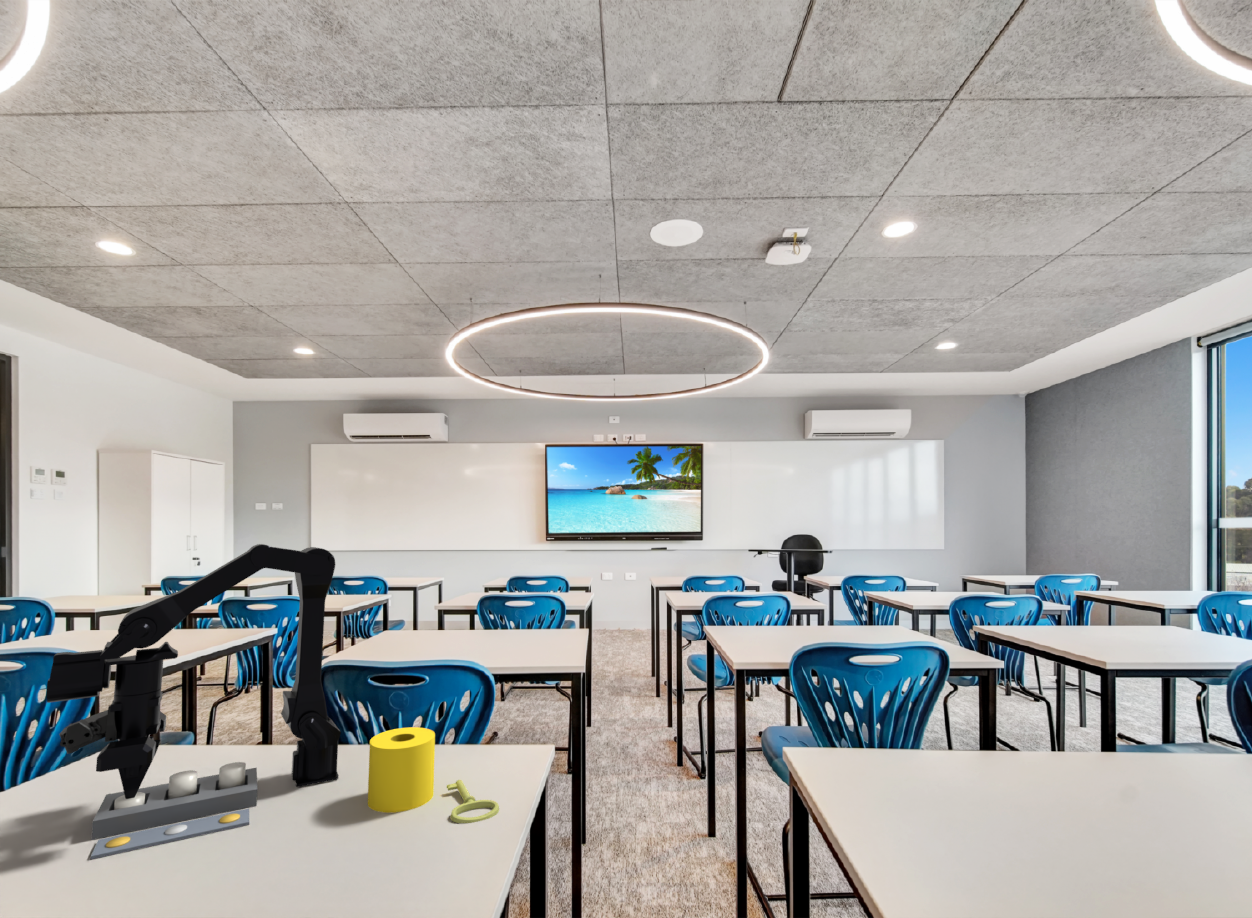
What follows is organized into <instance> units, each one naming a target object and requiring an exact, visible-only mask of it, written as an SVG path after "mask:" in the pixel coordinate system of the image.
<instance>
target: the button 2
mask: <svg viewBox="0 0 1252 918" xmlns="http://www.w3.org/2000/svg"><path fill="white" fill-rule="evenodd" d="M246 766H247V763H246V762H243V761H241V762H240V761H237V762H230V763H227V764H224V765H222V766H220V767H219V769H218V770H219V772H218V774H219V786H218V789H219V790H222V789H227V788H232V787H237V786H243V785H244V784H245V770H246V768H247V767H246Z"/></svg>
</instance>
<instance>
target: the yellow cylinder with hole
mask: <svg viewBox="0 0 1252 918" xmlns="http://www.w3.org/2000/svg"><path fill="white" fill-rule="evenodd" d="M435 748H436V733H435V731H434V730H432V729H429V728H425V727H417V726H416V727H414V726H413V727H411V726H410V727H409V726H408V727H399V728H394V729H389V730H386V731H383V732H380V733H378V734H375V735H374V736H373V737H371V739H370V740H369V755H368V756H369V757H368V778H367V779H368V782H367V787H368V788H367V807H369V809H371V810H372V811H375V812H378V813H388V814H392V813H395V814H396V813H401V812H409V811H411V810H415V809H417V808H420V807H423V806H425V805H426V804H427V803H429V802H430V801H431V800H432V799H433V797H434V792H435V791H434V790H435V789H434V785H435V784H434V783H435V752H436V749H435Z"/></svg>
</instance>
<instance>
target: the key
mask: <svg viewBox="0 0 1252 918" xmlns="http://www.w3.org/2000/svg"><path fill="white" fill-rule="evenodd" d="M446 789H447V791H452V790H453V791H454V790H457V791H458V793H459V795H460V796H461V798H462V800H463V803H461V804H459V805H457V806H455V807H454V808H453V809H452V810H451V812H450V813H451V814H450V819H451V820H450V821H452V822H453V823H457V824H472V823H478V822H482V821H485V820H489V819H490V818H493V817H495V816H496V815H497V814H499V811H500V805H499V803H498V802H497V801H495V800H492V799H478V800H476V798H475V796H474V795H471V794H470V793H469V791H468V789H467V787H466V785H465V783H464V782H463V780H462V779H458V780H456V781H455V783H449V784H446ZM485 808H487V809H488V808H489V809H490V808H491V810H490V811H489V812H487V813H484V814H481V815H477V816H469V817H468V816H460V814H463V813H465V812H468V811H472V810H473V811H474V810H476V809H485Z"/></svg>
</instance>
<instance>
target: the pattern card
mask: <svg viewBox="0 0 1252 918" xmlns="http://www.w3.org/2000/svg"><path fill="white" fill-rule="evenodd" d="M249 825H250V808H243V809H238V810H234V811H229V812H224V813H219V814H214V815H209V816H205V817H200V818H195V819H190V820H185V821H180V822H176V823H171V824H166V825H161V826H156V827H152V828H147V829H142V830H137V831H132V832H128V833H123V834H118V835H113V836H108V837H104V838H99V839H97V841H96V844H95V846H94V849H93V850H92V852H91V855H90V860H95V859H100V858H103V857H107V856H114V855H117V854H122V853H126V852H131V851H132V852H133V851H135V850H136V851H137V850H140V849H144V848H149V847H150V848H151V847H154V846H157V845H162V844H167V843H173V842H177V841H180V840H185V839H190V838H194V837H199V836H203V835H204V836H205V835H208V834H213V833H214V834H215V833H216V832H217V833H218V832H222V831H227V830H231V829H235V828H236V829H237V828H240V827H245V826H249Z"/></svg>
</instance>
